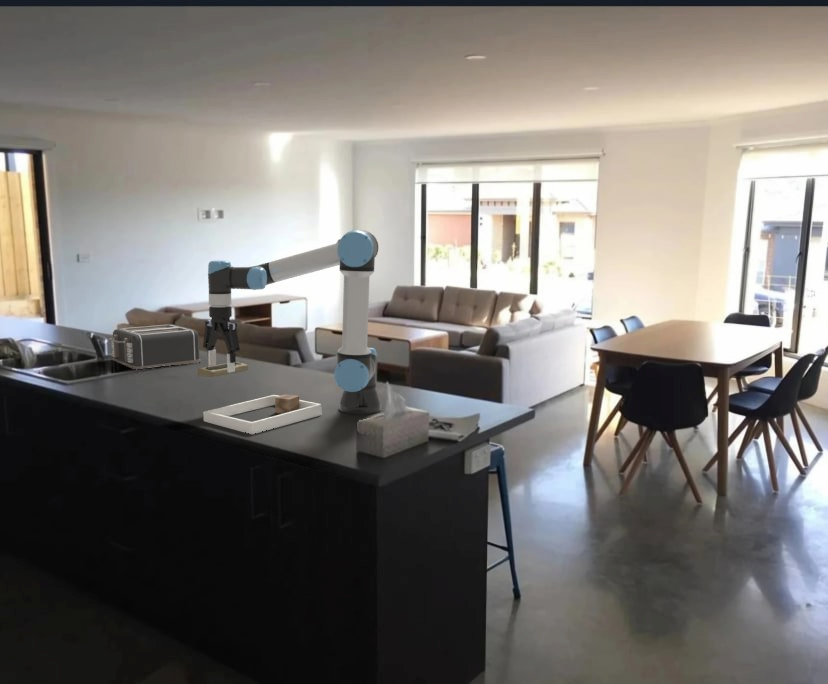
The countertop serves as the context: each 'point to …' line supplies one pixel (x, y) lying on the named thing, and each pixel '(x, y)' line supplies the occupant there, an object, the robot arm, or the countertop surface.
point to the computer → (221, 370)
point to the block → (286, 403)
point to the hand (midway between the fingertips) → (221, 370)
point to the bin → (223, 419)
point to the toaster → (155, 346)
